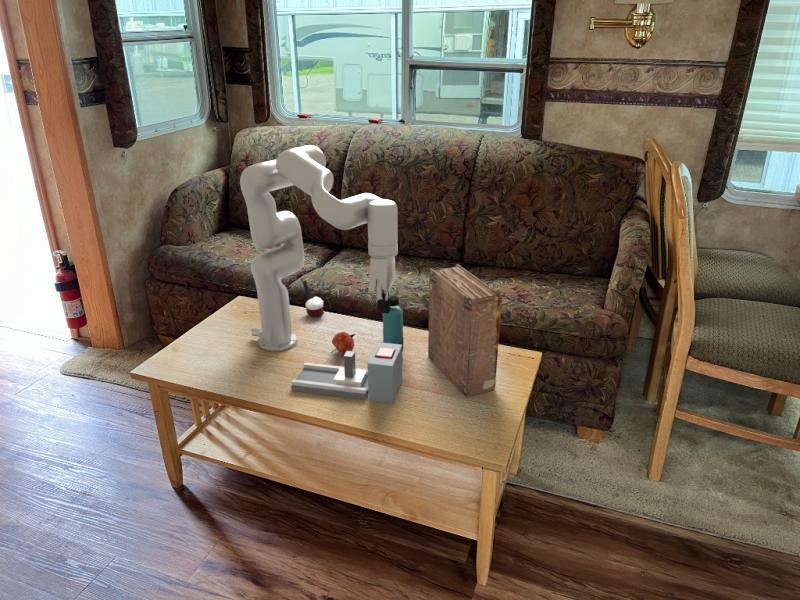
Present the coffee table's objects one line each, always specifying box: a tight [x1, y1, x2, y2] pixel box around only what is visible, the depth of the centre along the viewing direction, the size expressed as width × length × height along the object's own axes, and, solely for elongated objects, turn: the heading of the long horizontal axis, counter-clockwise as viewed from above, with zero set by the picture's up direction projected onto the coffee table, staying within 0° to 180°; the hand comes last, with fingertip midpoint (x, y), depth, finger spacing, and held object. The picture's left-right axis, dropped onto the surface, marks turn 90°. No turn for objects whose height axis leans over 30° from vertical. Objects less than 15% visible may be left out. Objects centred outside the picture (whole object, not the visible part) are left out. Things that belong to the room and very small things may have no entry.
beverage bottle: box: [382, 295, 405, 353], centre depth 192 cm, size 6×7×20 cm
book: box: [427, 263, 503, 398], centre depth 180 cm, size 25×9×30 cm, turn 24°
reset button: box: [376, 348, 394, 359], centre depth 174 cm, size 4×4×4 cm
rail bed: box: [290, 362, 369, 401], centre depth 181 cm, size 22×12×3 cm, turn 77°
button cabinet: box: [367, 341, 403, 404], centre depth 176 cm, size 7×12×12 cm, turn 167°
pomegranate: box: [330, 331, 356, 356], centre depth 196 cm, size 7×7×10 cm
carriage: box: [334, 350, 367, 387], centre depth 178 cm, size 8×6×9 cm
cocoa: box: [302, 279, 325, 318], centre depth 220 cm, size 10×6×12 cm, turn 26°
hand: (384, 311), depth 168 cm, fingers closed
